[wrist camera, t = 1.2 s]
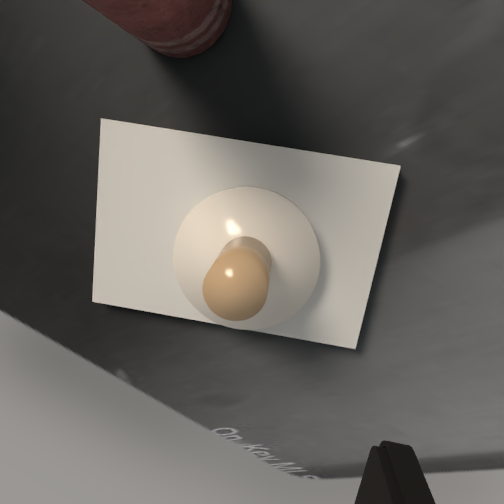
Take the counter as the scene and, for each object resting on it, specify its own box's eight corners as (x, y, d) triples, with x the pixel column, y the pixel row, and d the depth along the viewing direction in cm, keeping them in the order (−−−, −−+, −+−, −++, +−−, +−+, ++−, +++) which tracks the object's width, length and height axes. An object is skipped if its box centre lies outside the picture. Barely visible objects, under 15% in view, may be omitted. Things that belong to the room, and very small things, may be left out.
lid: (332, 198, 24) (346, 215, 18) (304, 332, 26) (308, 387, 21) (185, 174, 24) (152, 184, 19) (171, 309, 27) (138, 355, 21)
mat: (395, 164, 24) (400, 165, 23) (352, 340, 28) (355, 349, 26) (109, 119, 25) (101, 118, 24) (100, 295, 28) (92, 301, 27)
